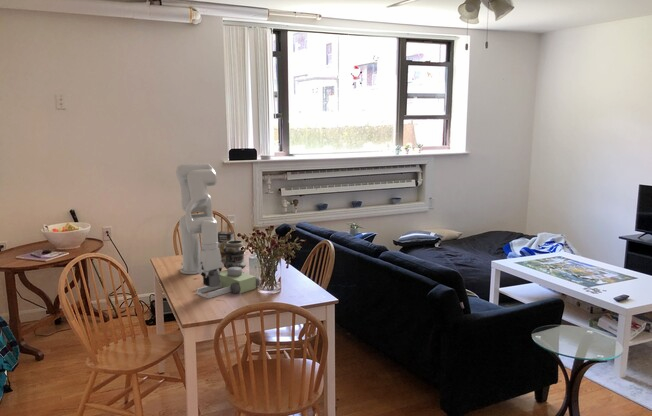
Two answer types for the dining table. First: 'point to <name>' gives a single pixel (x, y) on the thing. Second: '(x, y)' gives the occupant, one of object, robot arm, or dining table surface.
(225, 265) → the apothecary jar
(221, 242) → the coffee box
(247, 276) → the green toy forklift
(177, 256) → the dining table surface
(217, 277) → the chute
